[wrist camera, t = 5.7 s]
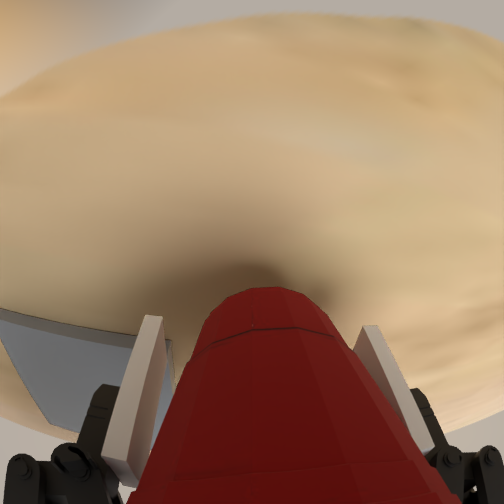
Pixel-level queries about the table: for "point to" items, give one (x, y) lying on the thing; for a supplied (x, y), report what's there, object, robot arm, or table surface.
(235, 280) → the table surface
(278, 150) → the table surface
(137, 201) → the table surface
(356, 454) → the plastic cup
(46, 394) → the slate tile
